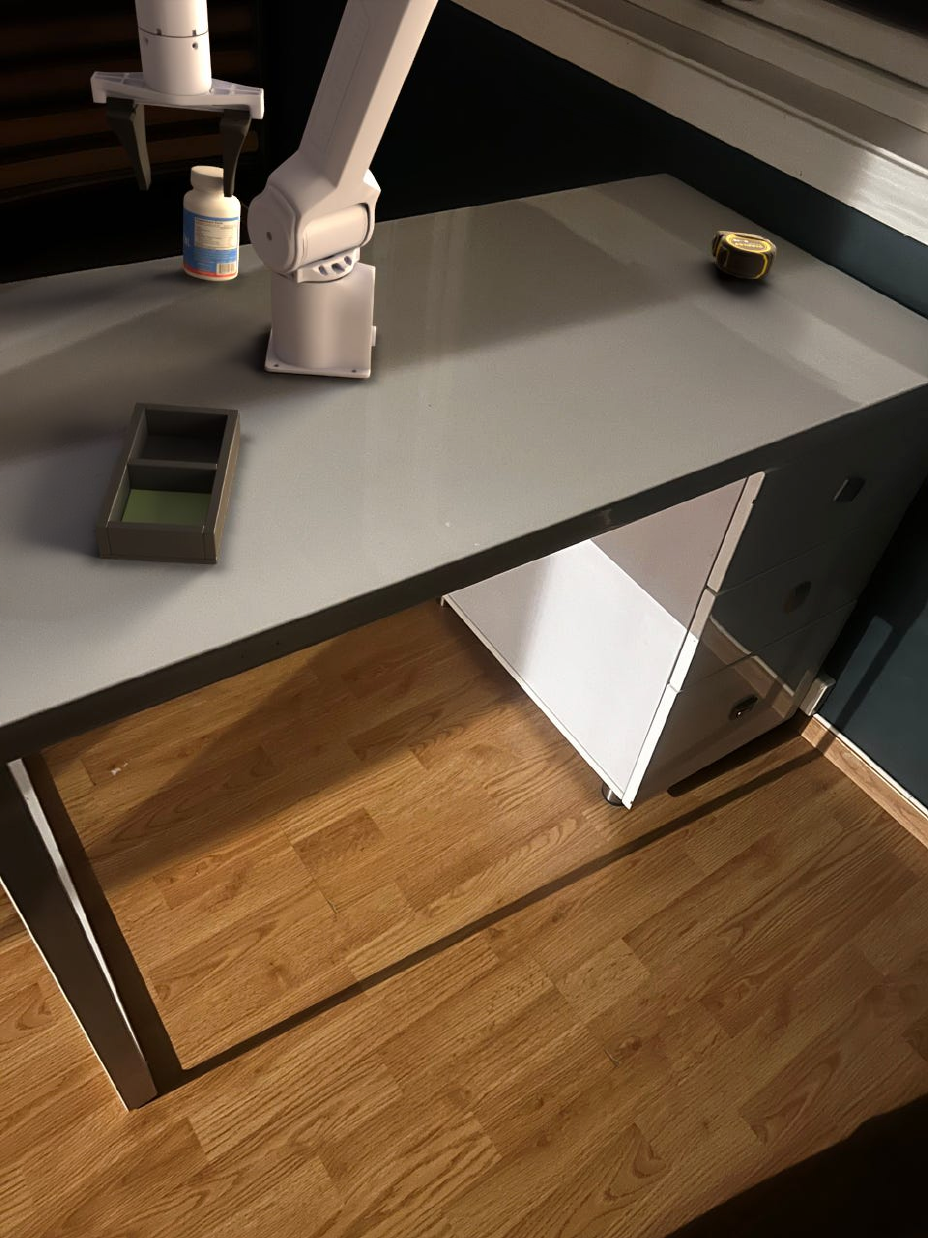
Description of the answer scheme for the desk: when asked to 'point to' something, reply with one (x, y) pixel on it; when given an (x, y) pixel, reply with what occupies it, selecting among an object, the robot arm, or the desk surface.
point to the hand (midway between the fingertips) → (187, 189)
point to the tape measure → (743, 254)
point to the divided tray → (170, 485)
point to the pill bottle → (210, 227)
